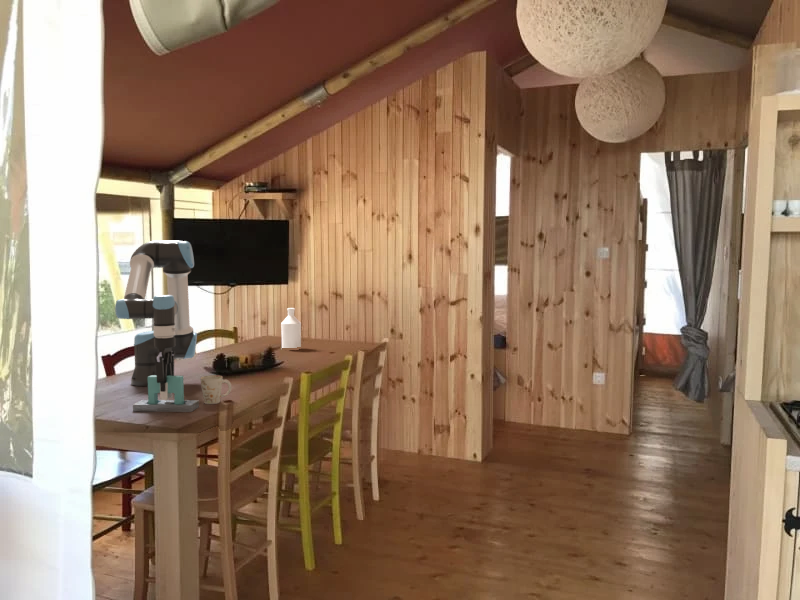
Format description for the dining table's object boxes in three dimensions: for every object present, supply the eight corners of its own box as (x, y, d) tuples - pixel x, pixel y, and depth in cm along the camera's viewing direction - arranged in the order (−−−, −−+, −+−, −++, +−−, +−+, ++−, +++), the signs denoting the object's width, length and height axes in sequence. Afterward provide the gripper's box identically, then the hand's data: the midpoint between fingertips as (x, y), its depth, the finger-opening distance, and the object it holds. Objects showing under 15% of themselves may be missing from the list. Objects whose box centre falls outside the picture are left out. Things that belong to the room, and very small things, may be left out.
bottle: (294, 347, 401) (294, 307, 399) (305, 349, 392) (304, 308, 390) (277, 349, 393) (277, 308, 391) (287, 351, 384) (287, 309, 382)
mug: (197, 402, 255) (196, 377, 255) (225, 397, 264) (225, 373, 263) (207, 405, 250) (206, 380, 249) (236, 400, 258) (236, 375, 258)
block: (132, 411, 241) (132, 404, 241) (142, 406, 249) (142, 399, 249) (191, 411, 240) (191, 405, 240) (198, 406, 248) (198, 400, 248)
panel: (148, 405, 243) (147, 376, 242) (151, 403, 246) (151, 375, 245) (181, 406, 243) (180, 377, 242) (183, 404, 246) (183, 375, 245)
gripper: (165, 339, 234) (167, 403, 236) (182, 333, 250) (184, 394, 252) (145, 339, 235) (147, 403, 236) (163, 333, 251) (165, 393, 252)
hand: (166, 398), depth 244 cm, fingers closed on panel, 3 cm apart
